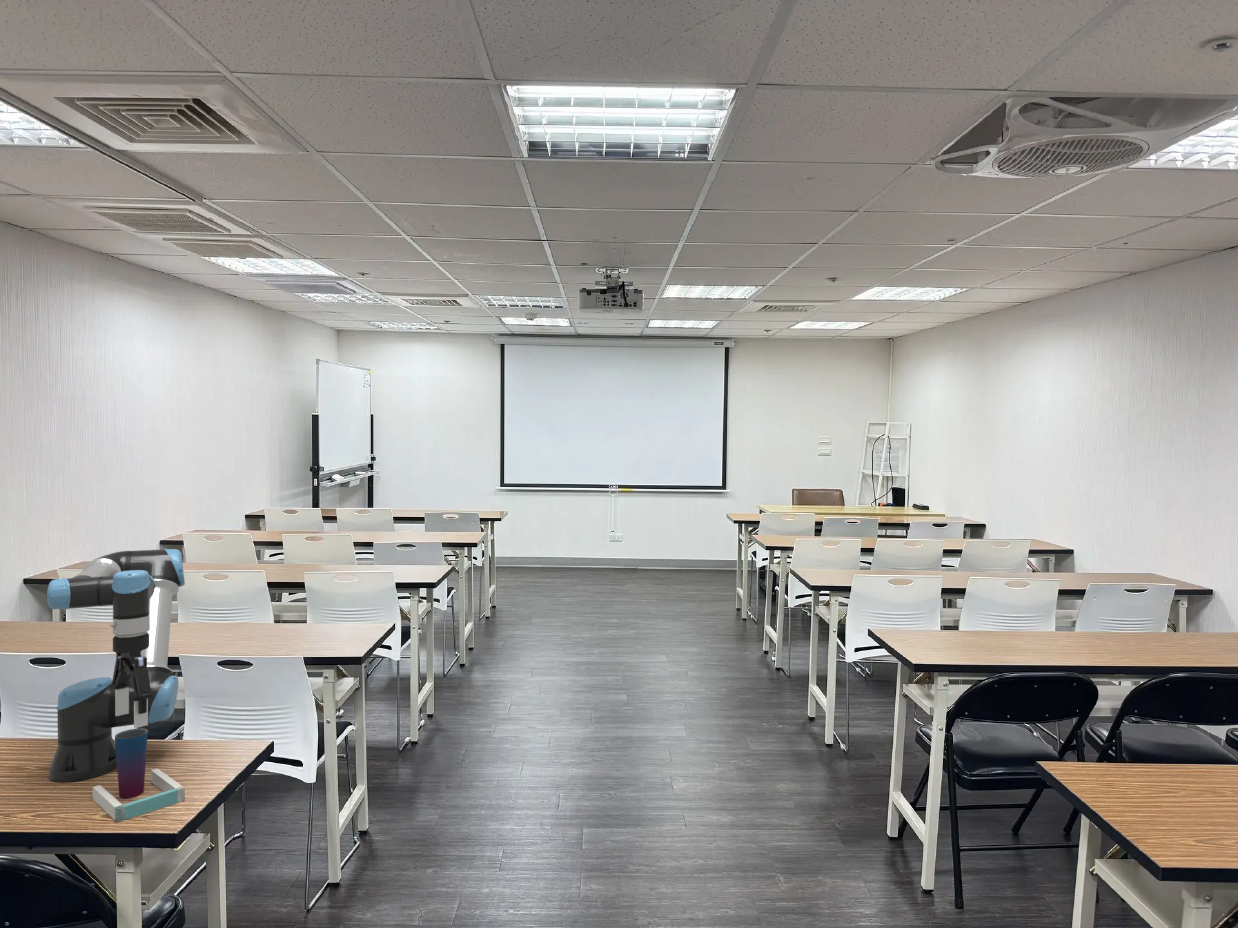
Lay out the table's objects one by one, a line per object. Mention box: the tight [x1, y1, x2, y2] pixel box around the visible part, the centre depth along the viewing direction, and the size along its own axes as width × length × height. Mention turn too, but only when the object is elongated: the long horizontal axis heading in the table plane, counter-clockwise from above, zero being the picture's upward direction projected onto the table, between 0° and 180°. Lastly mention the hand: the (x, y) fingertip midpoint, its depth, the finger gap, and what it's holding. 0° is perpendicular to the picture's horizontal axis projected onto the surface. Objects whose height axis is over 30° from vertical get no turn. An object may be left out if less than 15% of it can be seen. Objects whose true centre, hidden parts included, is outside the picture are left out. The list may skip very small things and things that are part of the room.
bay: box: [92, 768, 186, 823], centre depth 176 cm, size 18×14×3 cm
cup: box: [114, 727, 149, 799], centre depth 179 cm, size 7×7×15 cm
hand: (131, 720), depth 179 cm, fingers open, 13 cm apart
